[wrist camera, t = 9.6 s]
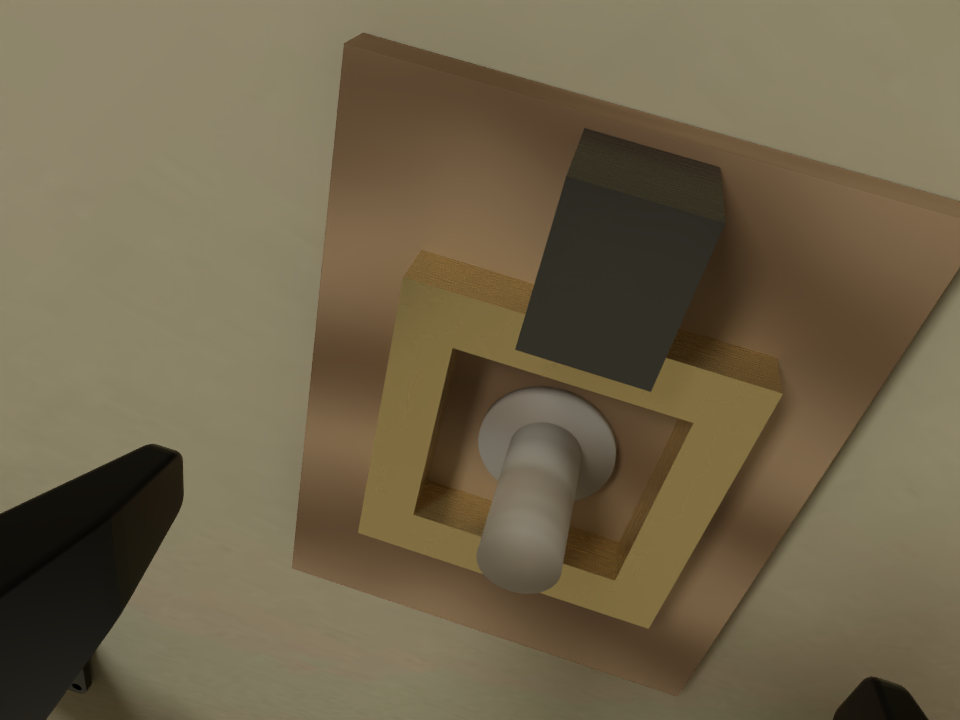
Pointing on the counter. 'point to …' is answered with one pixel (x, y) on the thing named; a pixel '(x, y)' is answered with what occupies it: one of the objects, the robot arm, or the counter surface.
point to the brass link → (582, 370)
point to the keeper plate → (566, 408)
